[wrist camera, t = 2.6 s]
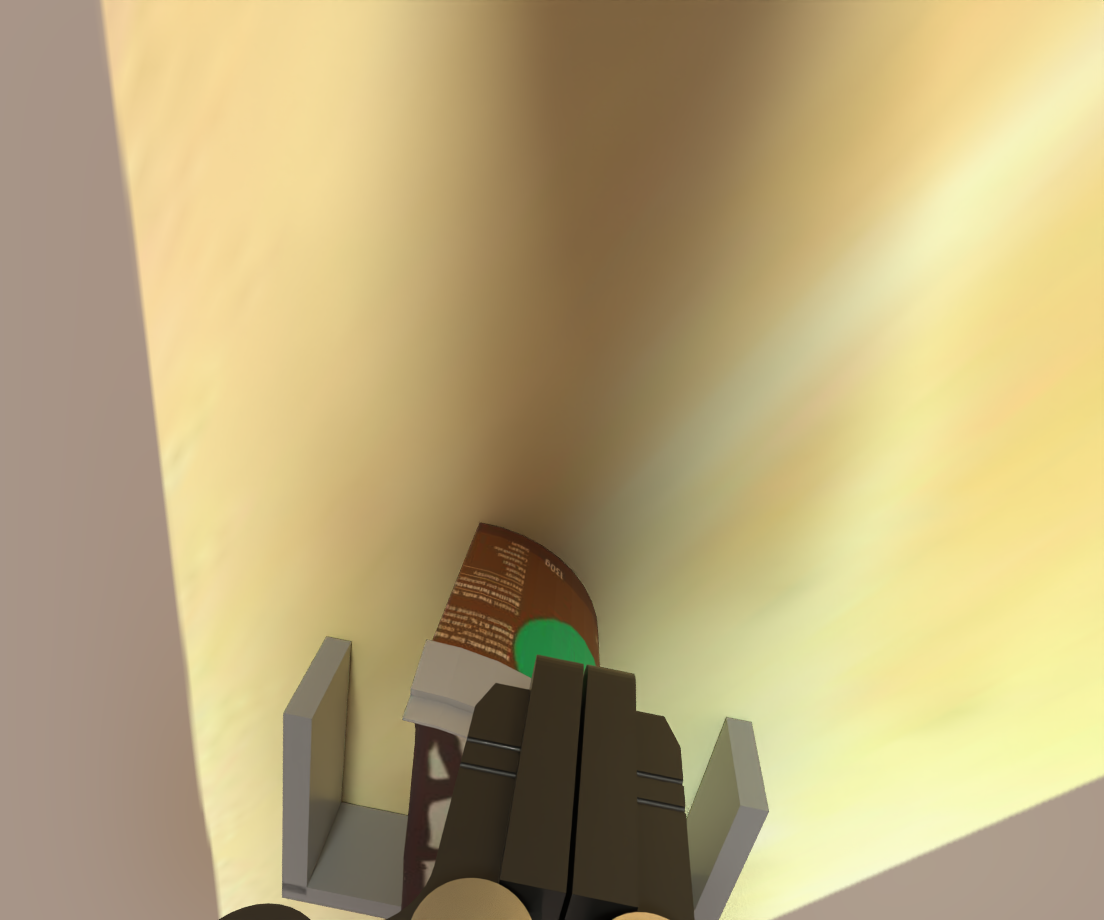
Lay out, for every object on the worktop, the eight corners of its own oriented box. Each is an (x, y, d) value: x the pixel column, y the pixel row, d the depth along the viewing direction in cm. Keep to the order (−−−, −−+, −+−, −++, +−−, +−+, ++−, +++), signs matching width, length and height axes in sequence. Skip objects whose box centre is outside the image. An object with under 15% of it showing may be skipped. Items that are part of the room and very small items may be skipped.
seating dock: (326, 636, 29) (283, 712, 25) (751, 722, 29) (769, 811, 25) (319, 812, 34) (282, 897, 30) (684, 886, 33) (690, 981, 30)
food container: (599, 766, 31) (587, 1042, 22) (454, 740, 31) (382, 1003, 22) (661, 515, 25) (678, 749, 16) (483, 485, 25) (403, 700, 16)
